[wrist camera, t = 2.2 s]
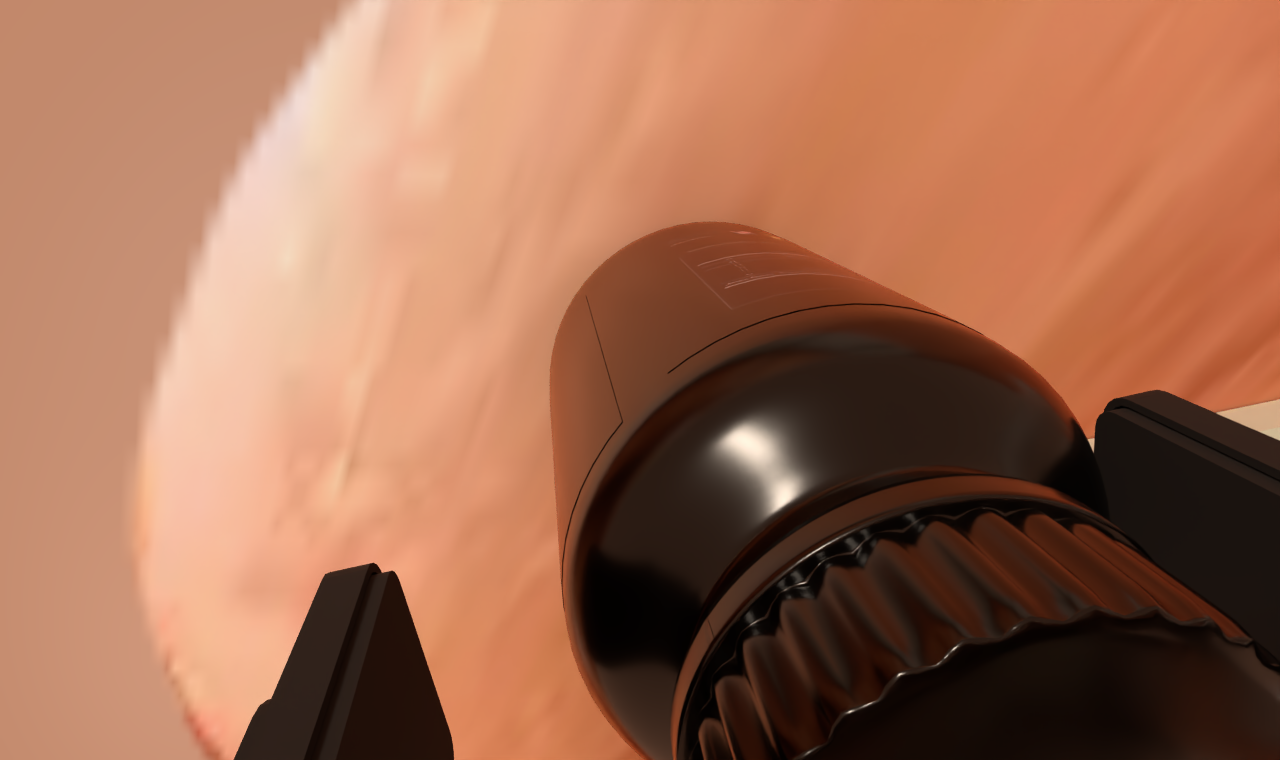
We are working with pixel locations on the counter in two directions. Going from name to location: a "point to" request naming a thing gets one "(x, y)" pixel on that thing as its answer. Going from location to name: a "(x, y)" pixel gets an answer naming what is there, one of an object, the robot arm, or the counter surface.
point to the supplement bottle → (857, 533)
